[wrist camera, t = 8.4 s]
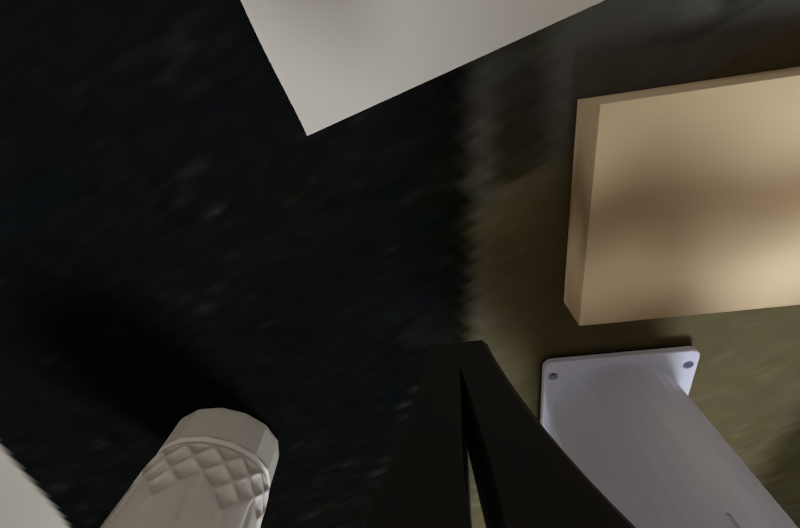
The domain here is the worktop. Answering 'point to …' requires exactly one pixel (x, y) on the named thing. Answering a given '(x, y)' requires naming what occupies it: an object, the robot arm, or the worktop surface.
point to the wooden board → (686, 200)
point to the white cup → (204, 476)
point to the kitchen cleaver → (384, 45)
